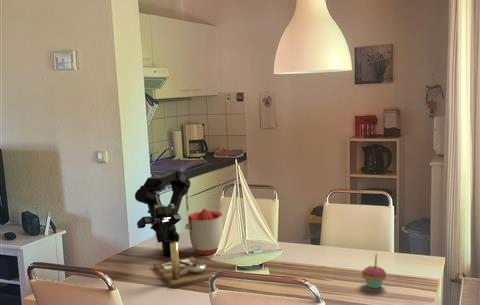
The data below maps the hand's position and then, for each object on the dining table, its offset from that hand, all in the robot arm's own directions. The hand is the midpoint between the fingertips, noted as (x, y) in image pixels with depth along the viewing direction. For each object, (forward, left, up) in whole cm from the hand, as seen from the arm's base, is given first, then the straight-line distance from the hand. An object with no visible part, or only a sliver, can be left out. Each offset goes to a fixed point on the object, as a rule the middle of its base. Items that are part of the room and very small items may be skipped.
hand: (165, 239), depth 200 cm
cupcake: (+75, +36, -13) cm, 84 cm away
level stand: (+8, +2, -13) cm, 16 cm away
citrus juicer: (-5, +26, -13) cm, 29 cm away
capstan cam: (+8, 0, -11) cm, 14 cm away
